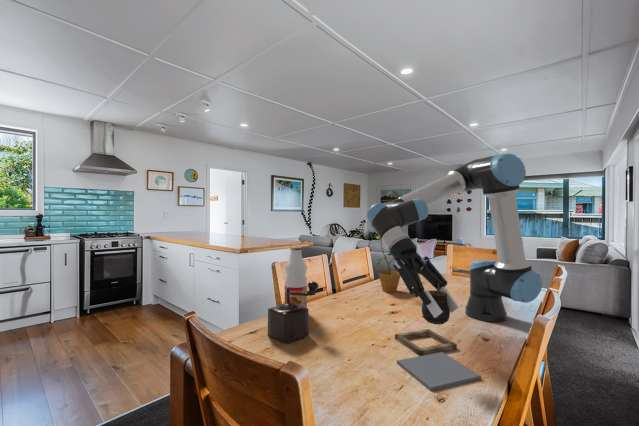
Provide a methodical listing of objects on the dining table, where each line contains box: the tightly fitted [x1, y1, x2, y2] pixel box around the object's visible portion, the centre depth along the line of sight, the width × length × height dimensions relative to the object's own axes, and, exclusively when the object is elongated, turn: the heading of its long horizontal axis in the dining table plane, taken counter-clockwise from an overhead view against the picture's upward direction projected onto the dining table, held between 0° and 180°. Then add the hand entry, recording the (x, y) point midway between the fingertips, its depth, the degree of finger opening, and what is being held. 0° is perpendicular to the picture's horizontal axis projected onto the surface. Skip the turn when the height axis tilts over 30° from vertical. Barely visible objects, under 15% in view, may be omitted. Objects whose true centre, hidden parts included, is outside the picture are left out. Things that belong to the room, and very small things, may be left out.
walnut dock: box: [394, 328, 458, 356], centre depth 99 cm, size 14×13×2 cm
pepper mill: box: [267, 281, 319, 345], centre depth 107 cm, size 16×11×18 cm
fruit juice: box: [284, 246, 308, 308], centre depth 128 cm, size 9×9×28 cm
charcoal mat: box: [396, 352, 482, 392], centre depth 82 cm, size 16×14×1 cm
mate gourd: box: [421, 283, 451, 326], centre depth 83 cm, size 7×8×10 cm
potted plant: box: [373, 234, 401, 293], centre depth 165 cm, size 18×19×30 cm
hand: (447, 312), depth 80 cm, fingers closed on mate gourd, 7 cm apart
